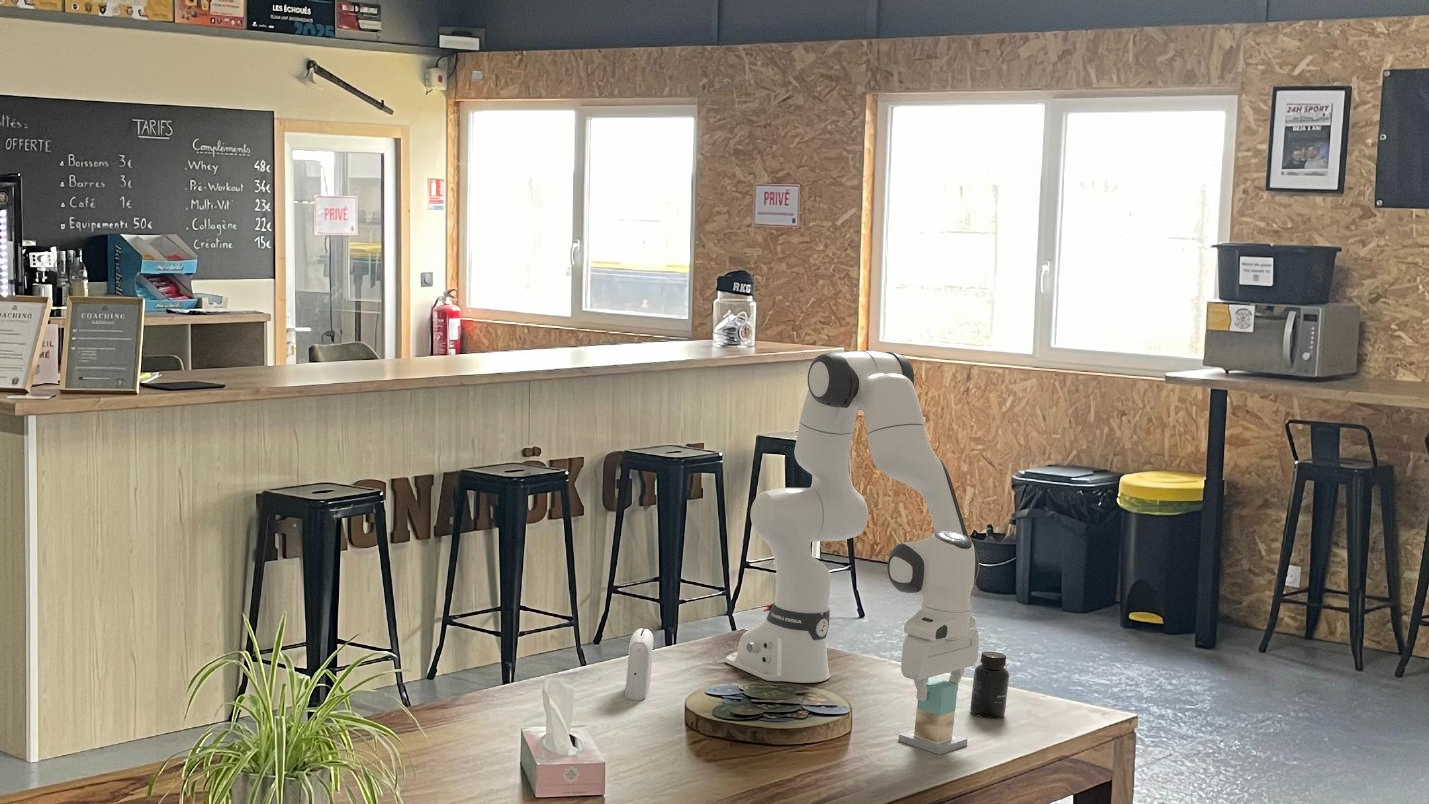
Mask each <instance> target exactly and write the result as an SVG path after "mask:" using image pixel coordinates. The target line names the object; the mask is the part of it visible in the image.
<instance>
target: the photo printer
mask: <svg viewBox="0 0 1429 804" xmlns="http://www.w3.org/2000/svg"><path fill="white" fill-rule="evenodd" d="M654 639H655V638H654V634H653V632H651V630H649V629H648V628H645V629H644V628H638V629H636V630H635V631H634V632H633V634H632V635H631V637H630V640H629V645H628V655H627V657H628V658H627V669H626V681H625V691H624V692H625V698H627V699H628V700H632V701H642V700H645V699H646V697H647V695H648V692H649V688H650V684H651V674H652V665H653V664H652V663H653V650H654V649H653V648H654Z"/></svg>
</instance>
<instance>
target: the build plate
mask: <svg viewBox="0 0 1429 804" xmlns="http://www.w3.org/2000/svg"><path fill="white" fill-rule="evenodd" d="M914 731H915V728H914V729H911V730H907V731H905V732H902V733H899V734H898V742H901V743H905V744H907V745H910V746H913V747H916V748H919V749H922V750H926V751H928V752H930V753H931V752H932V753H935V754H937V755H942V754H945V753H948V752H951V751H953V750H956V749H959V748H962V747H966V746H968V738H967V737H963V736H962V735H961V736H960V735H958V734H954V733H953V734H952V738H949V739H946V740H943V741H940V742H934V741H931V740H928V739H925V738H922V737H919V736H916V735H914Z"/></svg>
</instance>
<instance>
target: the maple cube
mask: <svg viewBox="0 0 1429 804" xmlns="http://www.w3.org/2000/svg"><path fill="white" fill-rule="evenodd" d="M915 713H916V714H915V720H914V721H915V723H914V729H915V731H914V735H916V736H919V737H922V738H925V739H928V740H931V741H934V742H940V741H943V740H946V739H949V738H952V734H954V733H953V732H954V722H955V713H956V710H955V711H954V712H951V713H947V714H944V715H941V716H939V715H936V714H932V713H929V712H926V711H923V710H920V709H917V708H916V712H915Z"/></svg>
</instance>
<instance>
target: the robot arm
mask: <svg viewBox="0 0 1429 804" xmlns="http://www.w3.org/2000/svg"><path fill="white" fill-rule="evenodd" d="M914 384H915V372H914V369H913V365H912V364H911V362H910V360H909V359H908V358H906V357H905V356H903V355H901V354H898V353H895V352H891V351H887V352H882V351H881V352H880V351H875V350H858V351H844V352H843V351H842V352H837V351H831V352H827V353H826V352H825V353H823V354H820V355H817V356H816V357H815V358H814V359H813V360H812V362H811V364H810V367H809V369H808V372H807V387H808V390H807V393H806V396H805V397H804V401H803V405H802V410H801V414H800V418H799V425H798V429H797V434H796V440H795V445H794V446H795V447H794V451H793V453H794V459H795V462H797V464H798V466H799V467H801V469H803V470H805V471H806V472H807V473H808V474H810V475H811V485H810V487H779V488H774V489H769V490H765V491H762V492H760V493H759V494H757V496H756V497H755V498H754V501H753V502H752V505H751V508H750V522H751V525H752V528H753V529H754V531H755V533H756V534H757V535H758V536H759V537H760V538H761V539H762V541H764V542H765V543H766V544H767V545H768V547H769V549H770V551H771V554H772V556H773V559H774V562H775V570H776V576H775V577H776V578H775V579H776V581H775V582H776V583H775V598H774V599H775V600H774V602H773V603H771V604H769V605H764V606H763V608H764V609H763V612H768V613H767V615H766V618H765V619H764V620H763V621H761V622H760V623H758V624H756V625H754V626H753V627H752V628H750V629H748V630H747V631H745V632H744V633H743V634H742V635H741V637H740V640H739V642H738V646H737V651H735V652H733V653H730V654H728V655H726V657H725V661H724V662H725V663H726V664H729V665H730V666H733V667H734V668H735V667H736V668H737V669H740V670H742V671H744V672H747V673H748V674H751V675H754V676H756V677H758V678H760V679H763V680H765V681H768V682H769V681H770V682H790V683H803V684H804V683H808V684H811V683H819V682H825V681H827V680H828V679H830V677H831V674H830V670H829V664H828V662H829V661H828V650H827V635H828V631H829V626H830V617H831V616H830V615H831V610H830V608H829V605H830V604H829V603H830V602H829V601H830V593H831V591H830V590H831V584H832V583H831V581H832V576H831V573H830V571H829V568H828V567H827V566H826V565H825V564H824V563H823V562H822V561H820V560H819V559H817V558H816V557H814V556H813V554H812V547H811V545H812V542H840V541H843V540H849V539H853V538H856V537H859V536H861V534H863V532H864V531H865V529H866V528H867V524H868V520H869V508H868V504H867V501H866V500H865V499H864V497H863V496H862V495H861V493H859V492H858V491H857V489H856V488H855V487H854V485H853V482H852V479H851V476H850V469H849V468H850V467H849V466H850V465H849V464H850V463H849V462H850V455H851V449H852V443H853V442H852V441H853V437H854V432H855V426H856V420H857V419H856V418H857V414H858V410H859V409H860V410H862V412H863V415H864V420H865V428H866V436H867V437H866V438H867V443H868V450H869V453H870V456H871V460H872V461H873V464H874V466H875V467H876V468H877V469H878V470H879V471H880V472H882V474H884V475H885V476H887V477H888V478H891V479H893V480H895V481H898V482H900V483H902V484H905V485H906V486H908V487H910V488H912V489H914V490H915V491H916V492H918V493H919V494H920V495H921V496H922V498H923V500H924V501H925V503H926V506H927V509H928V513H929V515H930V519H931V521H932V522H931V523H932V525H933V526H932V527H933V529H934V532H933V533H932V534H931V535H930V536H928V537H926V538H923V539H920V540H914V541H912V540H911V541H907V542H902V543H898V544H896V545H895V546H894V548H892V550H891V552H890V554H889V556H888V559H887V566H886V567H887V568H886V569H887V575H888V579H889V582H890V584H892V586H893V587H894V588H895V589H897V591H898V592H900V593H906V594H912V595H913V594H919V595H921V596H922V601H921V602H922V603H921V609H919V610H918V611H917V612H916V613H915V614H914V615H913V616H912V617H911V618H909V619H908V620H907V621H905V623H904V625H903V632H904V634H905V635H906V637H905V638H904V640H903V644H902V650H901V651H902V652H901V660H900V662H901V665H900V670H901V674H902V675H903V677H904V678H906V679H909V680H913V682H914V685H915V688H916V689H915V690H916V700H917V701H918V700H920V701H926V700H928V699H929V695H930V691H928V690H927V686H926V683H928V680H929V679H931V678H935V677H936V676H940V675H944V674H947V673H950V675H949V678H948V680H947V681H948V682H951V683H954V684H958V686H959V685H960V682H961V680H962V677H963V675H964V672H965V671H964V670H965V669H966V668H970V667H973V666H975V665H976V663H977V661H978V659H979V631H978V629H977V622H976V621H975V620H976V619H975V618H974V617H973V616H971V612H972V611H971V610H972V603H971V593H972V590H973V589H974V583H975V582H976V580H977V578H978V576H979V573H980V560H979V556H978V553H977V551H976V549H975V546H974V543H973V541H972V540H971V538H970V535H969V534H968V531H967V528H966V525H965V521H964V518H963V515H962V511H961V508H960V504H959V502H958V498H957V495H956V492H955V489H954V486H953V483H952V479H951V477H950V476H951V475H950V474H949V471H948V469H947V466H946V465H945V463H944V462H943V461H942V460H941V459H940V458H939V457H938V456H937V454H936V453H935V451H934V449H933V448H932V445H931V442H930V441H929V437H928V435H927V434H928V433H927V430H926V425H925V418H924V415H923V410H922V407H921V403H920V400H919V397H918V394H917V393H918V392H917V391H916V389H915V385H914ZM958 691H959V687H958V688H957V692H958Z"/></svg>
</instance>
